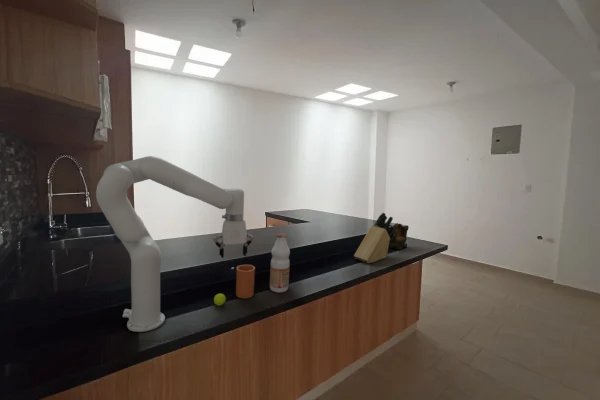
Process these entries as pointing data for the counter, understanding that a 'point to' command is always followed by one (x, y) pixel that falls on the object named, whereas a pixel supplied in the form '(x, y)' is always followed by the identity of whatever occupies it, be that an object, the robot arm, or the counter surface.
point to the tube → (245, 281)
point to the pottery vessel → (398, 236)
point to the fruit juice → (280, 265)
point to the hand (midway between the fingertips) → (233, 255)
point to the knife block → (376, 241)
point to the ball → (219, 299)
